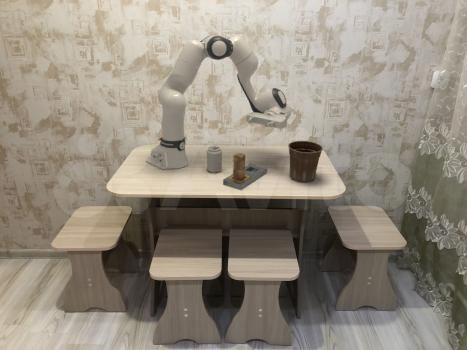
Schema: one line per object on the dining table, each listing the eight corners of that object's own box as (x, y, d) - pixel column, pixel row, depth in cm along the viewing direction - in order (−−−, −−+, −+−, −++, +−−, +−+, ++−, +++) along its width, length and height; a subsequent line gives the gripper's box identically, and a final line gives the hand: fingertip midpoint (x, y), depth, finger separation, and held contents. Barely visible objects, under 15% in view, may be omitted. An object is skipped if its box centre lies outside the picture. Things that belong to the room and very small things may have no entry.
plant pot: (324, 183, 186) (328, 151, 180) (291, 185, 184) (293, 153, 177) (312, 170, 201) (316, 140, 194) (282, 171, 199) (284, 141, 192)
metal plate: (223, 184, 183) (223, 179, 182) (249, 168, 202) (250, 163, 201) (241, 189, 178) (241, 184, 177) (266, 172, 197) (267, 167, 196)
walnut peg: (233, 182, 185) (233, 155, 179) (237, 180, 188) (238, 152, 183) (240, 185, 183) (241, 156, 178) (244, 182, 186) (245, 154, 181)
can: (223, 168, 201) (224, 146, 196) (218, 174, 194) (218, 151, 189) (210, 166, 203) (210, 144, 198) (204, 172, 196) (204, 149, 191)
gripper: (254, 108, 202) (239, 113, 191) (290, 115, 192) (277, 121, 181) (253, 120, 204) (239, 125, 194) (289, 127, 194) (275, 134, 184)
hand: (257, 123), depth 187 cm, fingers open, 8 cm apart
